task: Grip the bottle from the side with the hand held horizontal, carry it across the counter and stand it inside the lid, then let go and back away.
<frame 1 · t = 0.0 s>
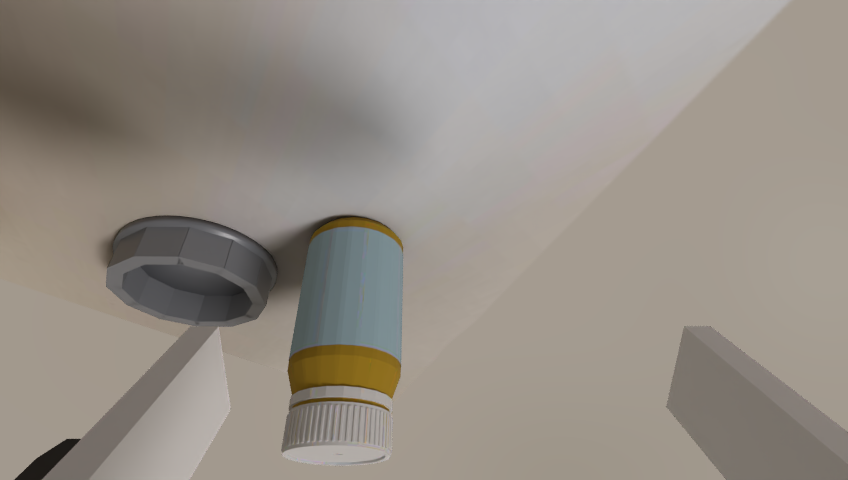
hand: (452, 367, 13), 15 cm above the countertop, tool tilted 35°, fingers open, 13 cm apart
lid: (200, 262, 36), on the countertop
bottle: (357, 239, 34), on the countertop
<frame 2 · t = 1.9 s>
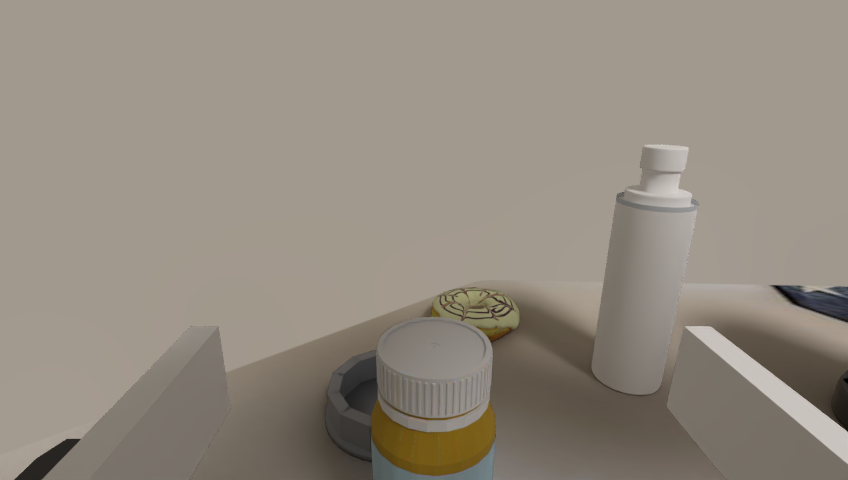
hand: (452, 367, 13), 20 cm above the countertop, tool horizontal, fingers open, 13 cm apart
decorated donut: (474, 327, 56), on the countertop
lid: (392, 410, 40), on the countertop
spray bottle: (624, 376, 46), on the countertop
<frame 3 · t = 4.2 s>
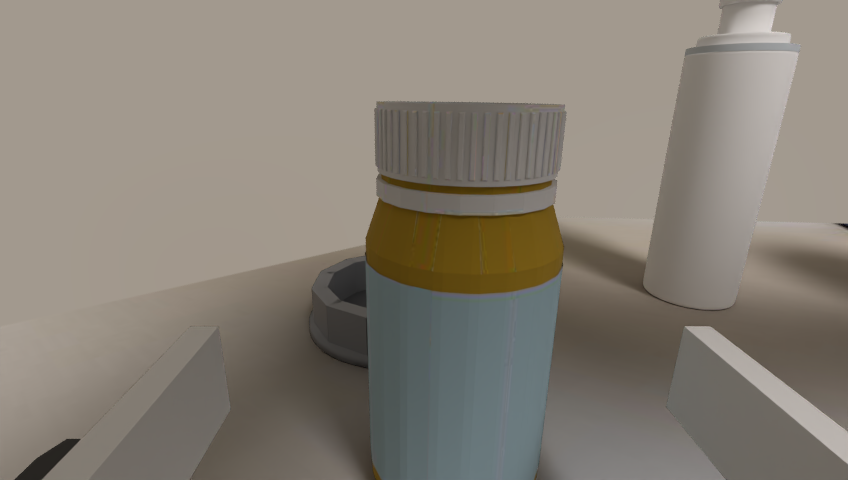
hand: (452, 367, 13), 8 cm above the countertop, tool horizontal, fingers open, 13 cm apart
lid: (396, 319, 31), on the countertop
bottle: (452, 468, 19), on the countertop
spray bottle: (686, 294, 37), on the countertop
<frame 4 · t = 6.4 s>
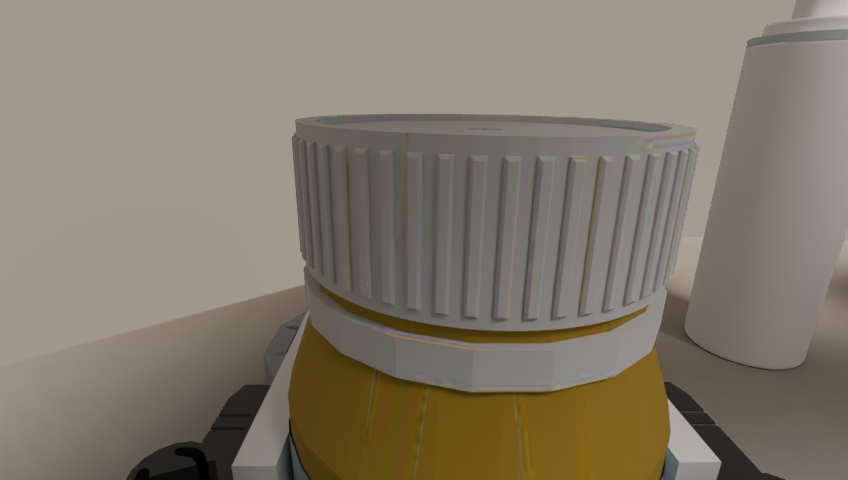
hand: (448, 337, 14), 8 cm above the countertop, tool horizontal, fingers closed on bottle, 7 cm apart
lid: (378, 389, 24), on the countertop
spray bottle: (739, 343, 30), on the countertop
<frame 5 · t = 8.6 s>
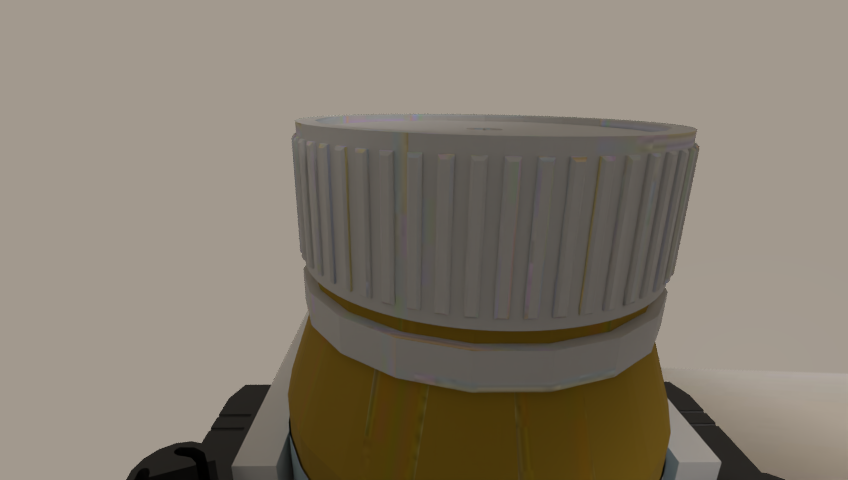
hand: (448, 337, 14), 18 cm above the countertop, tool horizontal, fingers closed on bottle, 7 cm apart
when the fingers open (10 cm above the countertop, at t = 10.8 s): bottle drops 1 cm, resting on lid.
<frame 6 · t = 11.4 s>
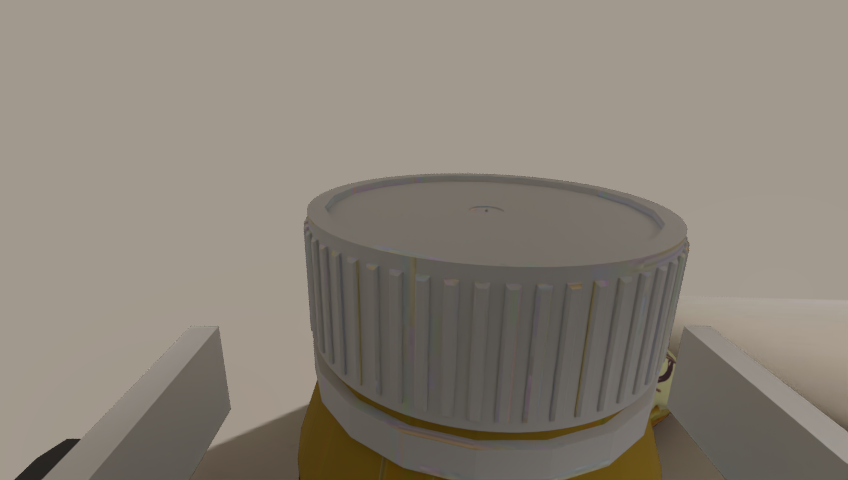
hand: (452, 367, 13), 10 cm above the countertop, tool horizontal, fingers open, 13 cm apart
decorated donut: (583, 392, 28), on the countertop
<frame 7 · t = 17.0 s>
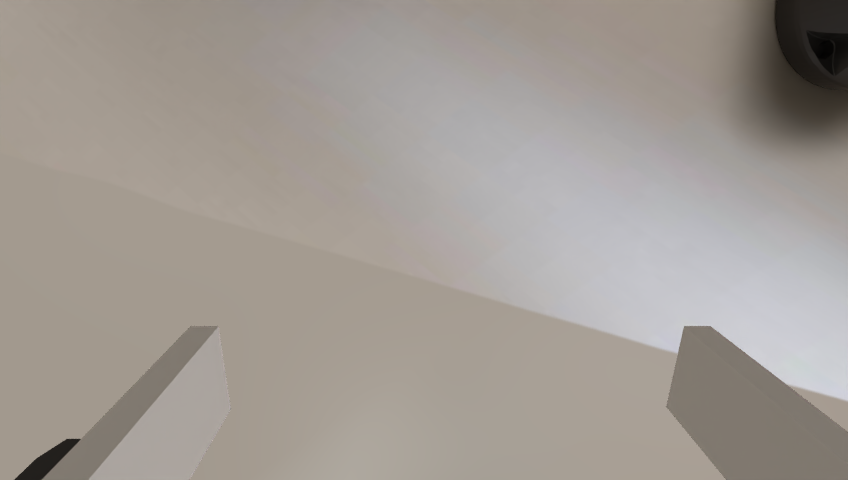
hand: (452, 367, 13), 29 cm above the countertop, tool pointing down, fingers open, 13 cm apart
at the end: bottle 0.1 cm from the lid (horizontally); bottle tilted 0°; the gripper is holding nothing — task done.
